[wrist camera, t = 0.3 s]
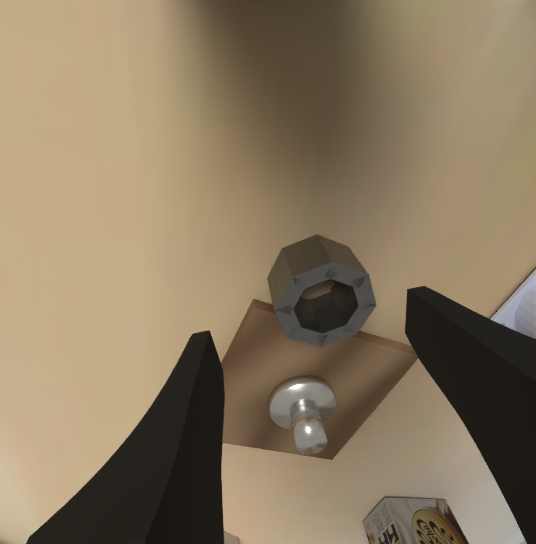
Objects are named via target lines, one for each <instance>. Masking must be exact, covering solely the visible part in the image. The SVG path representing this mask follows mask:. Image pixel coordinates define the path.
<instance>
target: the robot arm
mask: <svg viewBox="0 0 536 544" xmlns="http://www.w3.org/2000/svg"><path fill="white" fill-rule="evenodd" d="M405 333H406V335H407V337H408V339H409V341H410V343H411V345H412V347H413V349H414V351H415V353H416V355H417V356H418V358H419V359H420V361H421V362H422V364H423V365H424V367H425V368H426V370H427V371H428V372H429V374H430V375H431V377H432V378H433V379H434V381H435V382H436V384H437V385H438V386H439V388H440V389H441V391H442V392H443V393H444V395H445V396H446V398H447V399H448V401H449V402H450V403H451V405H452V406H453V408H454V409H455V410H456V412H457V413H458V415H459V417H460V418H461V420H462V421H463V423H464V424H465V426H466V428H467V430H468V431H469V433H470V435H471V437H472V438H473V440H474V442H475V444H476V445H477V447H478V449H479V451H480V452H481V454H482V456H483V458H484V460H485V462H486V463H487V465H488V467H489V469H490V471H491V473H492V475H493V476H494V478H495V480H496V482H497V484H498V486H499V488H500V490H501V492H502V494H503V496H504V498H505V500H506V502H507V504H508V505H509V507H510V509H511V511H512V513H513V515H514V517H515V519H516V521H517V524H518V526H519V528H520V530H521V532H522V534H523V536H524V538H525V540H526V542H527V544H536V269H535V270H534V271H533V273H532V274H531V275H530V276H529V277H528V278H527V279H526V280H525V281H524V282H523V283H522V285H521V286H520V287H519V288H518V289H517V290H516V291H515V292H514V293H513V294H512V296H511V297H510V298H509V299H508V300H507V301H506V302H505V303H504V304H503V305H502V306H501V308H500V309H499V310H498V311H497V312H496V313H495V314H494V315H493V316H492V317H491V319H488V318H486V317H484V316H482V315H480V314H478V313H476V312H474V311H472V310H470V309H468V308H466V307H464V306H462V305H460V304H459V303H457V302H455V301H453V300H451V299H449V298H447V297H445V296H443V295H441V294H439V293H437V292H436V291H434V290H432V289H430V288H427V287H425V286H422V287H417V288H412V289H407V306H406V324H405ZM224 406H225V390H224V374H223V368H222V365H221V362H220V360H219V357H218V354H217V351H216V348H215V345H214V342H213V339H212V336H211V333H210V330H209V331H204V332H199V333H194V334H192V336H191V337H190V339H189V341H188V343H187V345H186V347H185V349H184V351H183V353H182V355H181V356H180V358H179V360H178V362H177V364H176V366H175V368H174V369H173V371H172V373H171V375H170V376H169V378H168V380H167V382H166V383H165V385H164V386H163V388H162V390H161V391H160V393H159V394H158V396H157V397H156V399H155V401H154V402H153V404H152V405H151V407H150V408H149V410H148V411H147V412H146V414H145V415H144V417H143V418H142V420H141V421H140V422H139V424H138V425H137V426H136V428H135V429H134V430H133V431H132V433H131V434H130V435H129V436H128V438H127V439H126V440H125V441H124V443H123V444H122V445H121V446H120V447H119V448H118V450H117V451H116V452H115V453H114V454H113V455H112V457H111V458H110V459H109V460H108V461H107V462H106V464H105V465H104V466H103V467H102V468H101V469H100V470H99V471H98V472H97V473H96V474H95V475H94V476H93V477H92V478H91V479H90V480H89V481H88V482H87V484H86V485H85V486H84V487H83V488H82V489H81V490H80V491H79V492H78V493H77V494H76V495H75V496H73V497H72V498H71V499H70V500H69V501H68V502H67V503H66V504H65V505H64V506H63V507H62V508H61V509H60V510H59V511H57V512H56V513H55V514H54V515H53V516H52V517H51V518H50V519H49V520H48V521H47V522H45V523H44V524H43V525H42V526H41V527H40V528H39V529H38V530H37V531H36V532H34V533H33V534H32V535H31V536H30V537H29V538H28V540H27V543H26V544H224V528H223V508H222V481H221V458H222V441H223V424H224Z"/></svg>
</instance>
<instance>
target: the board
mask: <svg viewBox="0 0 536 544" xmlns="http://www.w3.org/2000/svg"><path fill="white" fill-rule="evenodd" d="M417 359H418V356H417V355H416V353H415V351H414V349H413V347H411V346H408V345H405V344H401V343H398V342H395V341H391V340H388V339H385V338H381V337H378V336H375V335H371V334H368V333H365V332H361V331H358V332H357V334H355V335H352V336H350V337H347V338H344V339H341V340H339V341H336V342H333V343H330V344H328V345H325V346H322V347H318V346H315V345H311V344H307V343H304V342H300V341H296V340H293V339H289V338H287V336H286V334H285V332H284V330H283V327H282V325H281V323H280V321H279V319H278V317H277V315H276V312H275V310H274V306H273V305H272V304H268V303H265V302H262V301H258V300H255V299H253V301H252V303H251V305H250V307H249V309H248V311H247V313H246V315H245V317H244V319H243V321H242V323H241V325H240V327H239V329H238V331H237V333H236V335H235V337H234V339H233V341H232V343H231V345H230V347H229V349H228V351H227V353H226V355H225V357H224V359H223V361H222V363H221V365H222V368H223V374H224V390H225V406H224V424H223V441H222V443H228V444H234V445H241V446H247V447H254V448H260V449H266V450H273V451H279V452H286V453H292V454H298V455H305V456H311V457H318V458H324V459H331V460H332V459H333V458H334V457H335V456H336V454H337V453H338V452H339V451H340V450H341V449H342V447H343V446H344V445H345V444H346V443H347V441H348V440H349V439H350V438H351V437H352V436H353V434H354V433H355V432H356V431H357V430H358V429H359V427H360V426H361V425H362V424H363V423H364V421H365V420H366V419H367V418H368V417H369V416H370V414H371V413H372V412H373V411H374V410H375V408H376V407H377V406H378V405H379V404H380V403H381V401H382V400H383V399H384V398H385V397H386V396H387V394H388V393H389V392H390V391H391V390H392V388H393V387H394V386H395V385H396V384H397V383H398V381H399V380H400V379H401V378H402V377H403V375H404V374H405V373H406V372H407V371H408V370H409V368H410V367H411V366H412V365H413V364H414V363H415V361H416V360H417ZM299 375H313V376H318V377H320V378H323V379H324V380H326V381H327V382H328V383H329V384H330V386H331V388H332V391H333V394H334V397H335V400H336V406H335V409H334V412H333V413H332V414H331V416H330V417H329V418H328V419H327V420H325V421H324V422H322V425H323V428H324V432H325V435H326V438H327V446H326V447H325V448H324V449H323V450H322V451H320V452H318V453H315V454H302V453H300V452H299V451H298V450H297V447H296V442H295V437H294V432H293V430H291V429H286V428H283V427H280V426H278V425H277V424H276V423H275V422H274V421H273V420H272V418H271V416H270V410H269V401H268V400H269V396H270V393H271V392H272V390H273V389H274V388H275V387H276V386H277V385H278V384H279V383H281V382H282V381H284V380H286V379H288V378H291V377H294V376H299Z"/></svg>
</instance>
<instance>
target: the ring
mask: <svg viewBox="0 0 536 544" xmlns="http://www.w3.org/2000/svg"><path fill="white" fill-rule="evenodd" d="M267 279H268V284H269V288H270V293H271V297H272V302H273V306H274V310H275V312H276V315H277V317H278V319H279V321H280V323H281V325H282V327H283V330H284V332H285V334H286V336H287V338H289V339H293V340H296V341H300V342H304V343H307V344H311V345H315V346H318V347H322V346H325V345H328V344H330V343H333V342H336V341H339V340H341V339H344V338H347V337H350V336H352V335H355V334H357V332H358V331H359V329H360V328H361V326H362V325H363V324H364V322H365V321H366V319H367V318H368V317H369V315H370V314H371V312H372V311H373V309H374V308H375V307H376V302H375V298H374V294H373V290H372V286H371V282H370V278H369V274H368V273H367V272H366V270H365V269H364V268H363V266H362V265H361V263H360V262H359V261H358V259H357V258H356V257H355V255H354V254H353V253H352V251H351V250H350V248H349V247H348V246H345V245H342V244H340V243H337V242H335V241H332V240H330V239H327V238H324V237H322V236H319V235H315V236H313V237H310V238H307V239H305V240H302V241H300V242H297V243H295V244H292V245H290V246H287V247H285V248H282V250H281V252H280V254H279V256H278V258H277V260H276V262H275V264H274V266H273V268H272V270H271V272H270V274H269V276H268V278H267ZM329 279H332V280H335V281H337V282H336V284H335V285H334V287H333V289H332V290H331V292H330V293H328V294H326V295H323V296H320V297H318V298H315V299H312V300H307V299H303V298H300V296H301V295H302V293H303V291H304V289H305V288H308V287H310V286H313V285H316V284H318V283H321V282H324V281H326V280H329Z"/></svg>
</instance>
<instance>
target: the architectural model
mask: <svg viewBox="0 0 536 544" xmlns="http://www.w3.org/2000/svg"><path fill="white" fill-rule="evenodd" d="M224 544H239V540H238V537H236V536H234V535H232V534H229V533H227V532H225V531H224Z"/></svg>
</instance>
